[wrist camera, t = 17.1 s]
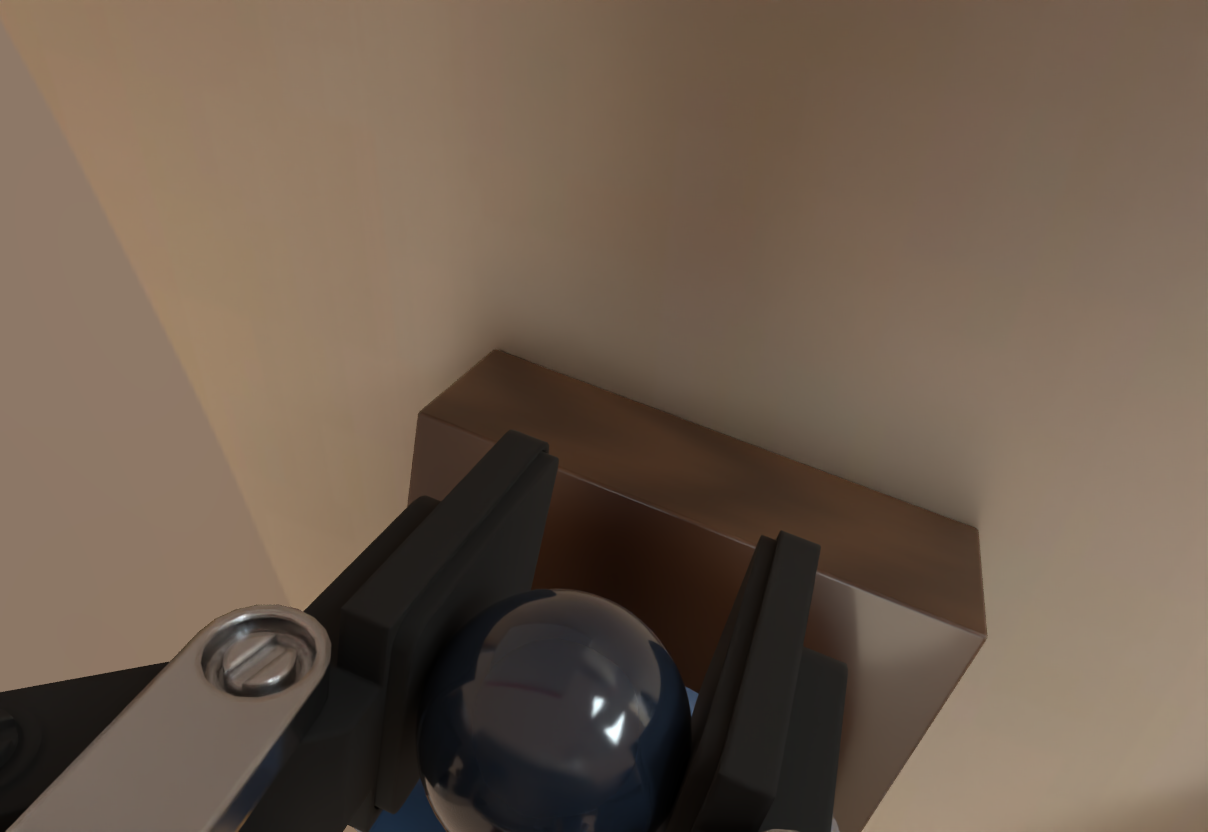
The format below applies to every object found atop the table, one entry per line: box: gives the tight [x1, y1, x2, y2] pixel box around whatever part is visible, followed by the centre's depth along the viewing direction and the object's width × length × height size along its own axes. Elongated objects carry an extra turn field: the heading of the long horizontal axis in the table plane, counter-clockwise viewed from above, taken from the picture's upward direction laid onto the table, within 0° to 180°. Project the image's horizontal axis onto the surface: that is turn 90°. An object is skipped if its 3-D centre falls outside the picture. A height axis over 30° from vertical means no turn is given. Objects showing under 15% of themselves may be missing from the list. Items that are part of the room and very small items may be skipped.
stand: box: [407, 350, 987, 832], centre depth 22 cm, size 13×12×4 cm
